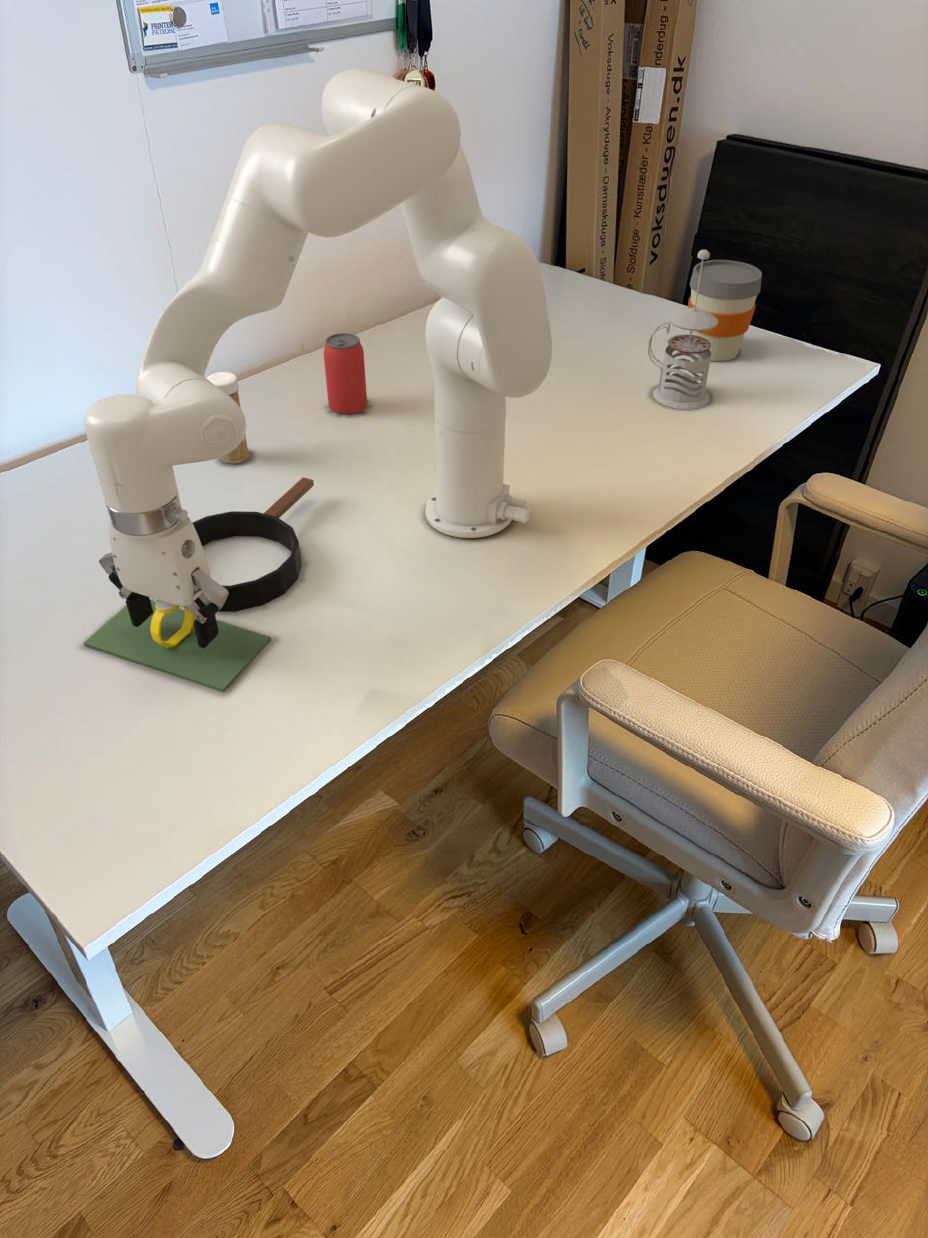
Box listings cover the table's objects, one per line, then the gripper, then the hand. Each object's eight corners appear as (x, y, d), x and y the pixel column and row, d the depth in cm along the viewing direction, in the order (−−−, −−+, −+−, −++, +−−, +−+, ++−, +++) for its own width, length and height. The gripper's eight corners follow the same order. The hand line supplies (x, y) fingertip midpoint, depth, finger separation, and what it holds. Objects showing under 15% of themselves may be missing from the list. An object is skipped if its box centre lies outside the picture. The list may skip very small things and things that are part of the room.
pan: (254, 626, 118) (249, 601, 115) (141, 591, 123) (134, 567, 121) (362, 511, 138) (360, 489, 135) (260, 486, 143) (257, 464, 140)
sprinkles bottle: (254, 459, 149) (241, 379, 140) (226, 467, 147) (212, 387, 138) (242, 447, 152) (229, 368, 143) (215, 455, 150) (200, 375, 141)
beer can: (321, 412, 161) (314, 344, 153) (340, 395, 166) (334, 328, 158) (356, 419, 159) (351, 350, 152) (374, 402, 164) (369, 335, 156)
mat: (271, 640, 116) (270, 637, 115) (223, 692, 109) (223, 689, 108) (137, 598, 122) (137, 595, 122) (84, 645, 115) (83, 642, 115)
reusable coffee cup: (666, 344, 183) (678, 265, 173) (720, 333, 187) (734, 255, 177) (705, 370, 174) (720, 288, 164) (761, 357, 178) (778, 277, 169)
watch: (186, 622, 118) (177, 583, 114) (203, 629, 117) (194, 591, 113) (151, 650, 114) (140, 611, 110) (168, 657, 113) (158, 618, 109)
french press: (705, 412, 161) (732, 263, 145) (637, 402, 164) (656, 255, 148) (713, 388, 168) (739, 243, 152) (647, 378, 171) (667, 235, 155)
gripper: (232, 509, 103) (254, 630, 114) (104, 475, 108) (137, 594, 119) (190, 546, 98) (218, 669, 109) (58, 508, 103) (97, 630, 114)
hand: (175, 630), depth 114 cm, fingers open, 9 cm apart
